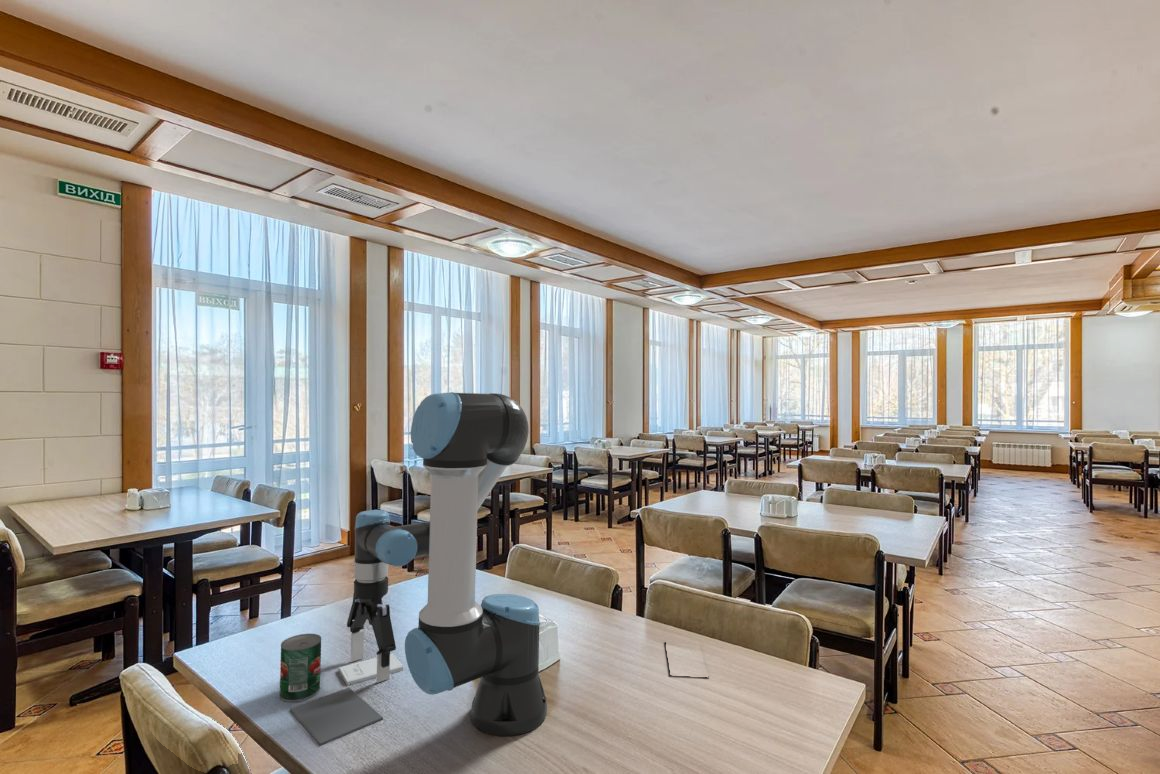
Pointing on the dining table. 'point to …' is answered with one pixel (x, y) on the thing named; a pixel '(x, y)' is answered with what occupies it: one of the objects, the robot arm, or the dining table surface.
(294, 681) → the canned tomato
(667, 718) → the dining table surface
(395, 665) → the external hard drive
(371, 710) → the mat
